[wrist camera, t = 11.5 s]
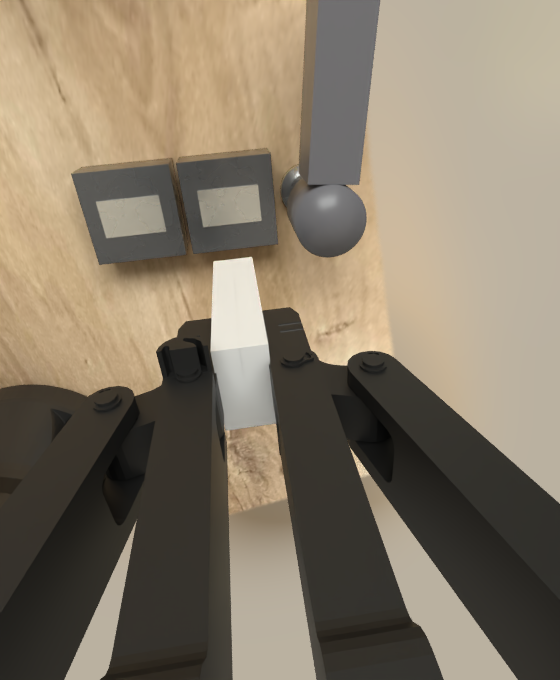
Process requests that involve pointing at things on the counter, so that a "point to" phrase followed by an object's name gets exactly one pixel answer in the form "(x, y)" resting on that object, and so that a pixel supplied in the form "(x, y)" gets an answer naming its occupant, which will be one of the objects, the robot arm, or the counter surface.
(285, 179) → the pivot post
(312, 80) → the cable arm
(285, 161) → the counter surface
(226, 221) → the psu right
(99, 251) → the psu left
